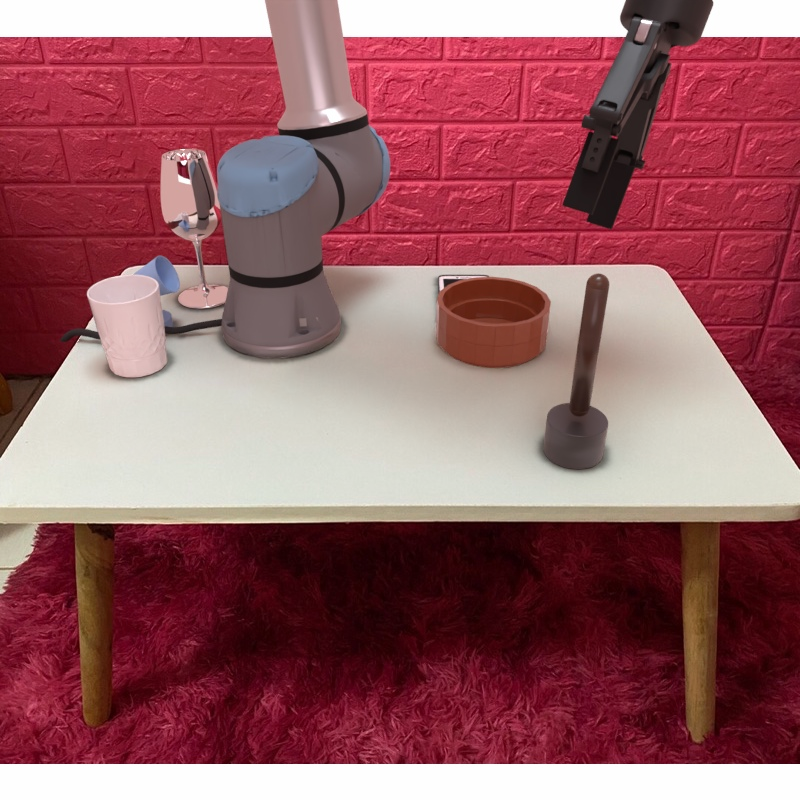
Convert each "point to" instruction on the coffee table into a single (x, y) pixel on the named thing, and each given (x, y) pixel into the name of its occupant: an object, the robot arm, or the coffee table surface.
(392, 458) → the coffee table surface
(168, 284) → the spotlight
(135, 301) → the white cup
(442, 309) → the bowl
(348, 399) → the coffee table surface
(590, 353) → the peg on round base
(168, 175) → the wineglass
